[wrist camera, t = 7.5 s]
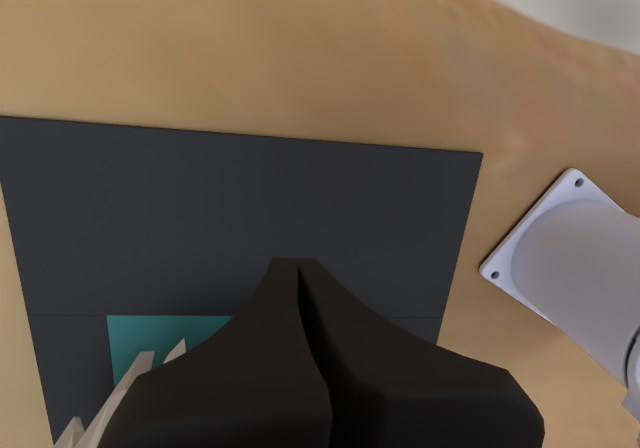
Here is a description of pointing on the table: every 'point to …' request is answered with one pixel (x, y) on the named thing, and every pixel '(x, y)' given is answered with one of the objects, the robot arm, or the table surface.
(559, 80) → the table surface
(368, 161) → the mat
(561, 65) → the table surface
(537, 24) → the table surface
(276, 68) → the table surface
